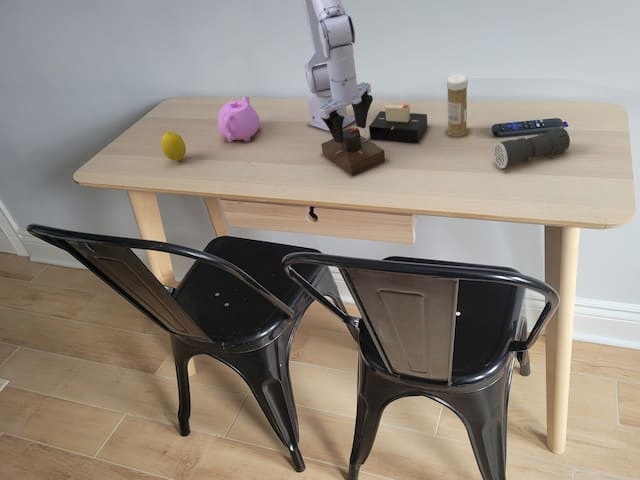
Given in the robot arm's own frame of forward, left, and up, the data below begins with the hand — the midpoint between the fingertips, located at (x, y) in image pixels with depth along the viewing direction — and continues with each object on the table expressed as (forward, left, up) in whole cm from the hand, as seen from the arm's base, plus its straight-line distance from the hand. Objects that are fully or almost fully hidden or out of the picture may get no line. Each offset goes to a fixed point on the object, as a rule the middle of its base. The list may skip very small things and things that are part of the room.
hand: (350, 134), depth 130 cm
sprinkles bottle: (+14, +21, -6) cm, 26 cm away
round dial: (0, 0, -3) cm, 3 cm away
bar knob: (+2, +14, -3) cm, 15 cm away
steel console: (+2, +14, -6) cm, 16 cm away
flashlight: (+34, +19, -6) cm, 40 cm away
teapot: (-34, -6, -6) cm, 35 cm away
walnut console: (0, 0, -6) cm, 6 cm away
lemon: (-38, -24, -6) cm, 45 cm away
